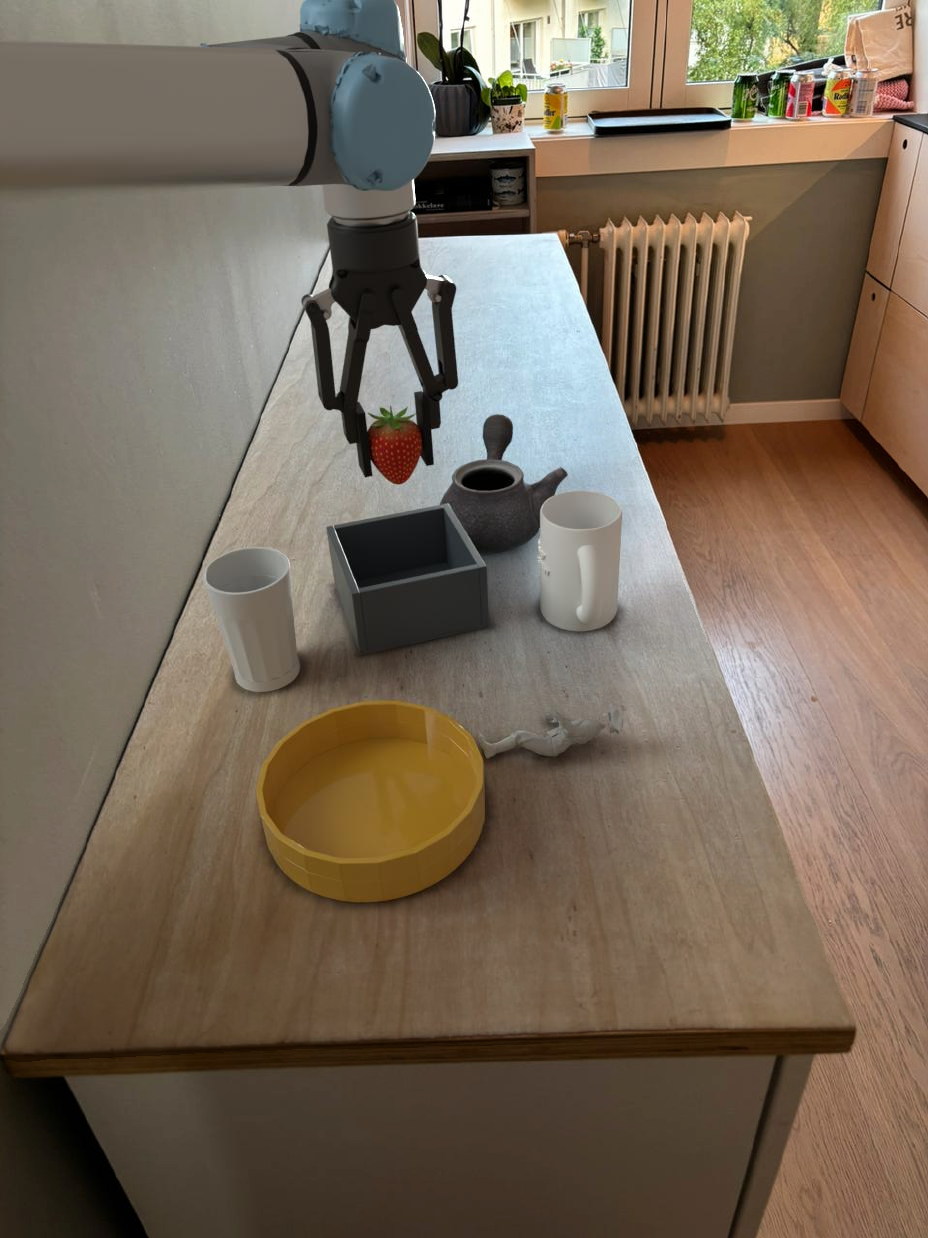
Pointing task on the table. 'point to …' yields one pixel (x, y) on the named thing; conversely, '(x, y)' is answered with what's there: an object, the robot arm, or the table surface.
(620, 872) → the table surface
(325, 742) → the bowl
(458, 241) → the table surface
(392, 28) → the robot arm
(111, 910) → the table surface
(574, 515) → the mug
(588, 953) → the table surface
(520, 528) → the teapot
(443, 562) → the bin
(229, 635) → the cup
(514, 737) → the soldier figure
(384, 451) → the fruit
